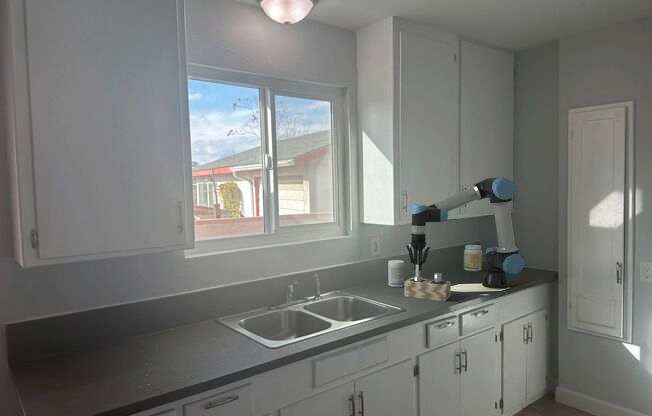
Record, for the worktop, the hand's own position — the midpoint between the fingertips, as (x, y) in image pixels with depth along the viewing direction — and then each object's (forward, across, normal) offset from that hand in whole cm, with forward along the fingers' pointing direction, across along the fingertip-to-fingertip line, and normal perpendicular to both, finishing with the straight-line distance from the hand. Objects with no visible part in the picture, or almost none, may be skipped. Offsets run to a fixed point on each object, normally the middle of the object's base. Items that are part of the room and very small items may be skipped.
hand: (417, 276), depth 253 cm
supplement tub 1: (+11, -17, +15) cm, 25 cm away
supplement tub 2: (+10, +14, +86) cm, 88 cm away
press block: (+10, +6, 0) cm, 12 cm away
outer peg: (+8, 0, 0) cm, 8 cm away
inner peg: (+5, +11, 0) cm, 12 cm away
